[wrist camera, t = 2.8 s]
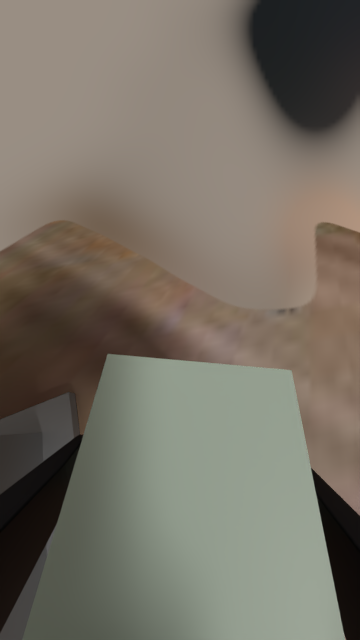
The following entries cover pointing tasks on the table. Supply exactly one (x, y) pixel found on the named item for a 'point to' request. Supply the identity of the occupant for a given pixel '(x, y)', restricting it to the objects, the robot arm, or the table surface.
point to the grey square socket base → (19, 459)
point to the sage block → (189, 513)
